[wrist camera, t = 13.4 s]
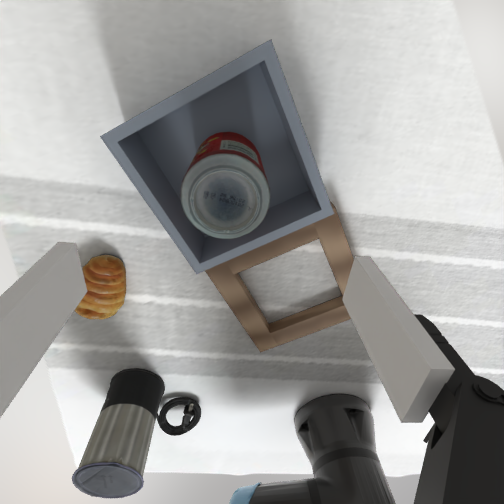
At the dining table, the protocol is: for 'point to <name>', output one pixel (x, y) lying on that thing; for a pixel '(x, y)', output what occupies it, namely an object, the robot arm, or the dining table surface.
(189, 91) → the bin
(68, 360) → the dining table surface
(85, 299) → the pastry
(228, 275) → the collar block
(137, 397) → the milk frother
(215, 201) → the soda can
